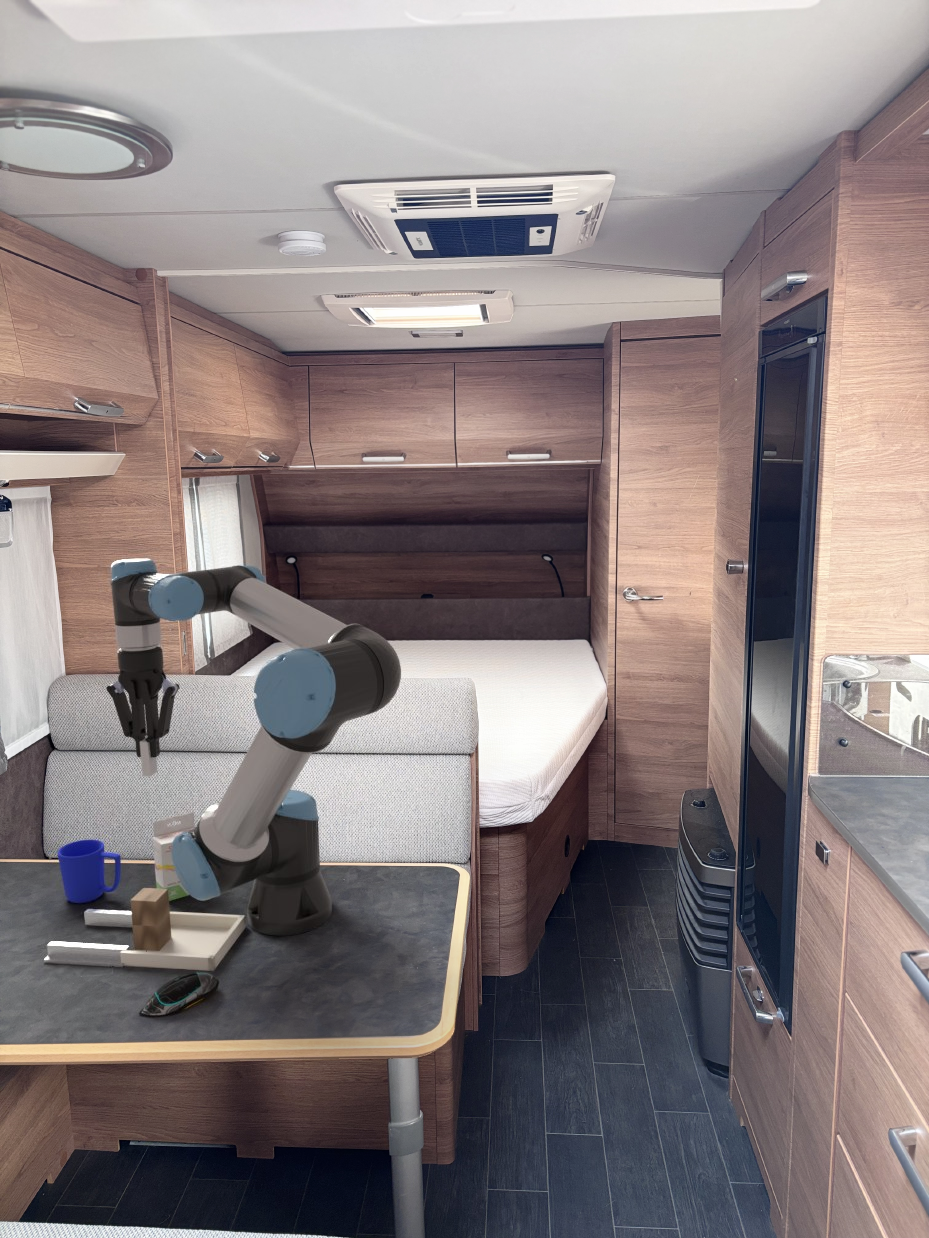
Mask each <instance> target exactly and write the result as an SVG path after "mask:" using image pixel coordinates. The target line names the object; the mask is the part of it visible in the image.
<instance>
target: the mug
mask: <svg viewBox="0 0 929 1238" xmlns="http://www.w3.org/2000/svg"><path fill="white" fill-rule="evenodd" d="M57 859H58V864H59V869H60V873H61V879H62V884H63V888H64V893H65V897H66V899H67V900H68V901H69V902H71V903H74V904H83V903H88V902H89V903H90V902H92V901H94V900H97V899H99V898H100V897H101V896H102V895H103V893H112V892H114V891H115V890H116V889H117V888H118V887H119V884H120V882H121V881H120V880H121V875H122V874H121V871H122V870H121V869H122V865H121V863H122V858H121V854H119V853H115V852H105V843H104V842H103V841H101V840H99V839H82V840H81V839H80V840H75V841H72V842H69V843H67V844H65V845H63V846H62V847H60V848H59V849H58V851H57ZM105 859H113V860H114V880H113V881H114V882H113V886H107V885H106V884H105Z"/></svg>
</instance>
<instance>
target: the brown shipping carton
mask: <svg viewBox="0 0 929 1238" xmlns="http://www.w3.org/2000/svg"><path fill="white" fill-rule="evenodd" d="M130 911H131V913H132V924H133V925H142V926H158V925H159V924H160V923H161V922H162V921H163V920H164V919H165V918H166V917H167V916H168V915H169V914H170V912H171V909H170V901H169V896H168V889H156V888H154V887H143V888H141V890H140V891H139V892H137V894H135V895H134V896H133V897H132V898H131V899H130Z"/></svg>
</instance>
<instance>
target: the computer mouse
mask: <svg viewBox="0 0 929 1238" xmlns="http://www.w3.org/2000/svg"><path fill="white" fill-rule="evenodd" d="M219 984H220V980H219V979H218V978H216V976H215V975H213V974H211V973H209V972H207V971H190V972H187V973H184V974H182V975H178V976H177V977H175V978H172V979H170V980H169V981H168V982H166V983H164V984H163V985H162V986H160V987H159V988H158V989H157V990H156V991H155V992H154V993H153V995H151V997H150V998H149V999H148V1000H147V1002H146V1004H145V1005H144V1007H143V1008H142V1009H141V1010H140V1011H139V1013H138V1014H139V1016H140V1017H145V1018H163V1017H164V1018H165V1017H166V1018H167V1017H172V1016H175V1015H178V1014H180V1013H181V1012H183V1011H185V1010H186V1009H188V1008H190V1007H191V1006H193V1005H195V1004H197V1003H199V1002H200V1001H202V1000H204V999H205V998H207V997H209V996H210V995H212V994H213V993H215V991H217V990H218V987H219Z"/></svg>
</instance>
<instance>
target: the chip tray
mask: <svg viewBox="0 0 929 1238" xmlns="http://www.w3.org/2000/svg"><path fill="white" fill-rule="evenodd" d="M246 923H247V922H246V915H243V914H225V913H223V914H222V913H208V912H207V913H203V912H186V911H185V912H183V911H170V925H171V938H170V939H169V941H168V942H167V943H166V944H165V945H164V946H163V947H162V949H161V950H160V951H151V950H147V952H146V950H130V949H129V950H122V951H121V952H120V957H121V963H124V967H137V968H138V967H139V968H151V969H152V968H153V969H154V968H156V969H170V970H171V969H172V970H189V971H191V970H192V971H203V972H207V971H209V972H214V971H215V970H216V969H217V967H218V966H219V964H220V963H221V962H222V960H224V958H225V956H226V955H227V953H228V952H229V951H230V949H231V948H232V947H233V945H234V944H235V942H236V941H237V940H238V938H239V937H240V936H241V934H242V933H243V932H244V931H245V929H246V927H247V925H246Z"/></svg>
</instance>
